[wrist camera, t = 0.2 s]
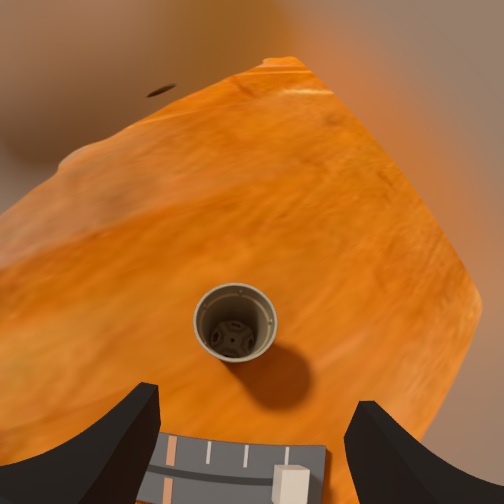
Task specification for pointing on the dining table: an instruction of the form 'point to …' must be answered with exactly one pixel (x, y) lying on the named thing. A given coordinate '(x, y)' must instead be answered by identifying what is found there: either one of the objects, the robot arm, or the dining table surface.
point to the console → (224, 471)
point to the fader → (290, 484)
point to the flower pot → (235, 322)
